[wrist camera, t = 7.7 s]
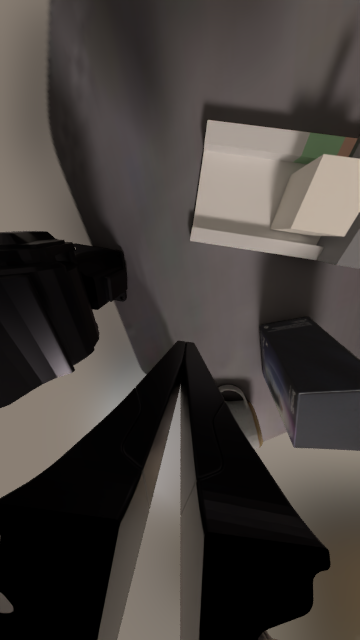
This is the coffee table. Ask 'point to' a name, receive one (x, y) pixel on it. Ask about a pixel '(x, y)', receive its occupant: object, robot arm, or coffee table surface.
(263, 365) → the small box
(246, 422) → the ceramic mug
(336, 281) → the coffee table surface
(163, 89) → the coffee table surface
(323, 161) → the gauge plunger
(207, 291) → the coffee table surface
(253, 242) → the base
